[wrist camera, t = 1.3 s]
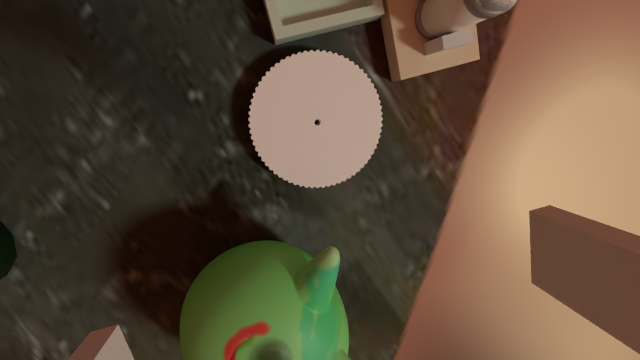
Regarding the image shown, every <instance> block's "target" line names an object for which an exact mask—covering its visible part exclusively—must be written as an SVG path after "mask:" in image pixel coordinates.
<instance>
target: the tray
mask: <svg viewBox="0 0 640 360" xmlns="http://www.w3.org/2000/svg"><path fill="white" fill-rule="evenodd" d="M263 2H264V6H265V9H266V13H267V17H268V20H269V24H270V28H271V32H272V35H273V39H274V43H275V45H278V44H282V43H286V42H290V41H294V40H298V39H302V38H307V37H311V36H315V35H319V34H323V33H327V32H331V31H335V30H340V29H344V28H348V27H352V26H356V25H360V24H364V23H368V22H373V21H376V20H377V19H379V18H380V17H381V16H382V15H384V14H385V13H384V7H383V2H382V0H263Z"/></svg>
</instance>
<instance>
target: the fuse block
mask: <svg viewBox="0 0 640 360" xmlns="http://www.w3.org/2000/svg"><path fill="white" fill-rule="evenodd" d="M517 1H518V0H382V2H383V7H384V13H385V14H384V15H382V16H381V17H380V20H381V26H382V31H383V37H384V42H385V48H386V53H387V59H388V64H389V70H390V75H391V81H392V82H394V81H399V80H403V79H407V78H410V77H414V76H418V75H422V74H426V73H429V72H433V71H437V70H441V69H444V68H448V67H452V66H456V65H460V64H463V63H467V62H471V61H475V60H478V59H480V57H479V47H478V38H477V29H476V23H478V22H481V21H483V20H485V19H488V18H492V17H495V16H497V15H499V14H502V13H504V12H506V11H508V10H509V9H511V8H512V7H513V6H514V5H515V3H516V2H517Z"/></svg>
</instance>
